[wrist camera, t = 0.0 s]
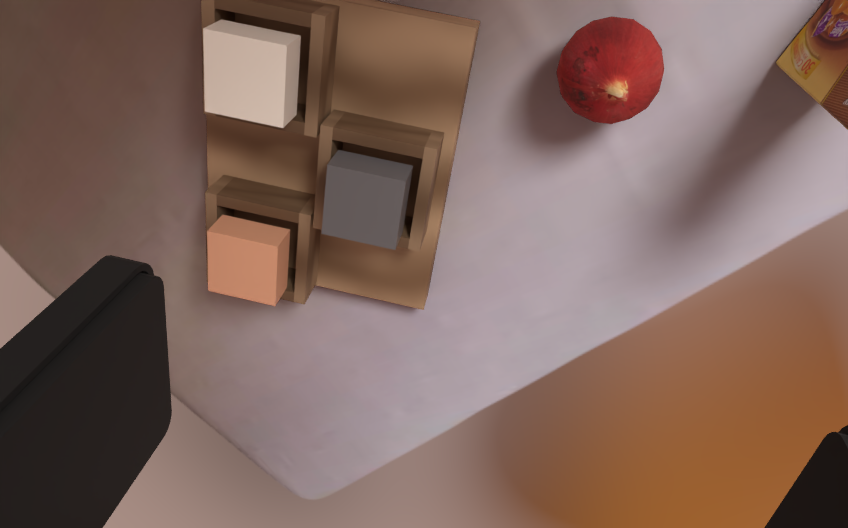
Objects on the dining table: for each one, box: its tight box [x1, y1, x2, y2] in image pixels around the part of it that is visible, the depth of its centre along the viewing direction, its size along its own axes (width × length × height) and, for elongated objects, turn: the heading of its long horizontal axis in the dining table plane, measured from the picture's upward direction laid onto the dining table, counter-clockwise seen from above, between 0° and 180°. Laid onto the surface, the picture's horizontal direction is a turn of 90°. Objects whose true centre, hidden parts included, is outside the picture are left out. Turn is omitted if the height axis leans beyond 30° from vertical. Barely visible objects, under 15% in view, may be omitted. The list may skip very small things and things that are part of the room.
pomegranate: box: [557, 17, 664, 124], centre depth 39 cm, size 6×6×8 cm
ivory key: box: [203, 19, 301, 128], centre depth 40 cm, size 5×5×2 cm
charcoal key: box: [321, 150, 413, 250], centre depth 43 cm, size 5×5×2 cm
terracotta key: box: [207, 215, 290, 306], centre depth 47 cm, size 5×5×2 cm
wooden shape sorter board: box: [201, 0, 480, 310], centre depth 46 cm, size 21×17×5 cm
